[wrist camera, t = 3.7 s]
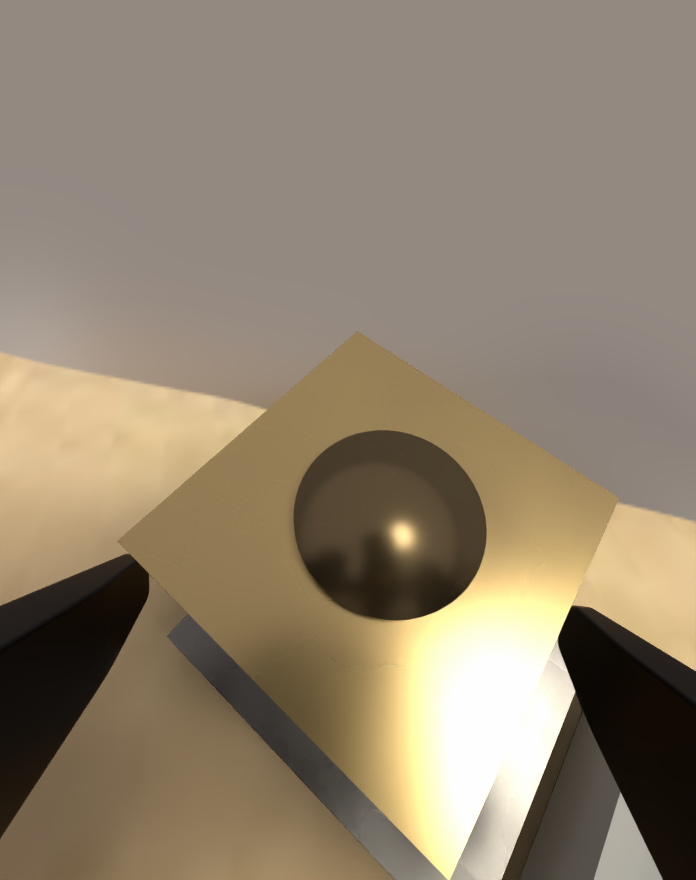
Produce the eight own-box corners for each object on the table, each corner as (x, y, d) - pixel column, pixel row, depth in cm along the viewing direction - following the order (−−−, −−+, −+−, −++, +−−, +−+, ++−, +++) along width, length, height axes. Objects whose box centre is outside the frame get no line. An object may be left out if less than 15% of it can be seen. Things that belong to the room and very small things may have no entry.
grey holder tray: (562, 647, 16) (592, 646, 14) (446, 914, 12) (469, 960, 10) (335, 473, 19) (337, 454, 17) (184, 638, 15) (166, 636, 13)
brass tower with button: (349, 712, 14) (455, 891, 3) (251, 618, 15) (109, 536, 5) (422, 599, 16) (628, 493, 6) (331, 525, 17) (358, 323, 7)
